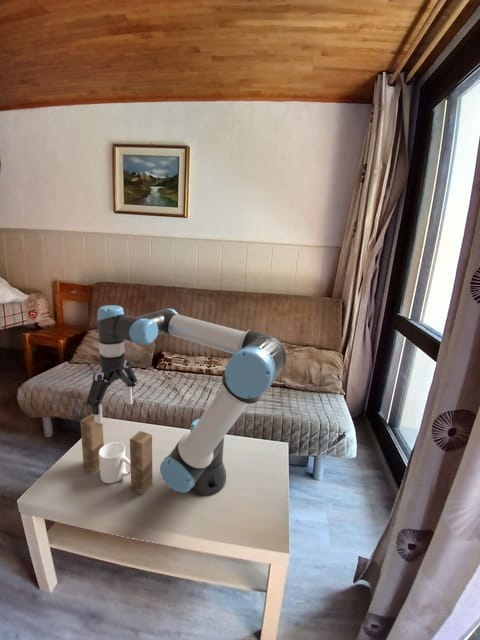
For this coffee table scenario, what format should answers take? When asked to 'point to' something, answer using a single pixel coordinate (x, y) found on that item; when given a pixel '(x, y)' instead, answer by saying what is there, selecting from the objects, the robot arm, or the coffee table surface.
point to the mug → (113, 462)
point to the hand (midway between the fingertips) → (114, 412)
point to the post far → (91, 443)
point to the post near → (141, 462)
